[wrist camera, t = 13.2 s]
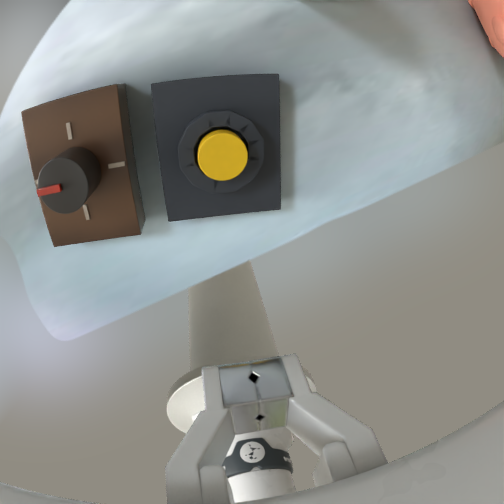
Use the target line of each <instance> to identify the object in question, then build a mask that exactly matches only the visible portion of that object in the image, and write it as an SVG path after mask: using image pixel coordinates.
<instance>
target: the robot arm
mask: <svg viewBox="0 0 504 504" xmlns="http://www.w3.org/2000/svg"><path fill="white" fill-rule="evenodd" d="M218 366H219V367H218ZM218 366H210V367H202V380H203V391H204V402H205V409H204V410H203V411H200V412H198V413H196V414H194V415H193V416H192V420H193V422H194V423H193V424H192V426H191V427H190V429H189V431H188V432H187V434H186V435H185V437H184V439H183V440H182V442H181V444H180V445H179V446H178V448H177V450H176V451H175V453H174V454H173V456H172V457H171V459H170V460H169V462H168V464H167V465H166V467H165V468H166V469H165V470H166V491H167V504H504V401H503V402H501V403H500V404H498V405H497V406H495V407H494V408H493V409H491V410H489V411H488V412H486V413H485V414H483V415H482V416H480V417H478V418H477V419H475V420H474V421H472V422H470V423H468V424H467V425H465V426H464V427H462V428H460V429H458V430H457V431H455V432H453V433H451V434H449V435H447V436H445V437H444V438H442V439H440V440H438V441H436V442H434V443H432V444H430V445H428V446H426V447H424V448H422V449H419V450H417V451H416V452H413V453H411V454H409V455H406V456H404V457H402V458H399V459H398V460H395V461H392V462H390V463H388V462H387V460H386V457H385V455H384V453H383V451H382V449H381V447H380V444H379V442H378V440H377V438H376V436H375V434H374V432H373V429H372V428H370V427H368V426H367V425H365V424H363V423H362V422H361V421H359V420H357V419H356V418H354V417H353V416H351V415H349V414H348V413H347V412H345V411H344V410H342V409H341V408H339V407H338V406H336V405H335V404H333V403H332V402H330V401H329V400H327V399H326V398H324V397H323V396H321V395H320V394H318V393H317V392H313V393H312V392H311V389H310V387H309V384H308V381H307V379H306V376H305V374H304V371H303V368H302V366H301V363H300V361H299V358H298V356H297V355H296V354H290V355H284V356H277V357H272V358H266V359H260V360H255V361H249V362H245V363H237V364H228V365H218ZM293 434H294V435H295V436H296V437H297V438H299V439H300V440H301V441H302V442H303V443H304V444H305V445H307V446H308V447H309V448H310V449H311V450H312V451H313V452H314V453H316V454H317V455H318V456H319V457H320V458H319V460H318V462H317V465H316V467H315V470H314V472H313V474H312V476H313V479H314V482H315V485H316V487H314V488H311V489H307V490H303V491H298V492H296V488H295V485H294V482H293V479H292V475H291V474H292V473H293V468H292V461H291V460H290V456H289V453H288V449H289V448H290V447H291V445H292V443H293V442H294V437H293ZM0 504H101V503H92V502H85V501H78V500H72V499H66V498H61V497H56V496H51V495H47V494H42V493H38V492H34V491H30V490H26V489H22V488H19V487H15V486H12V485H8V484H5V483H2V482H0Z"/></svg>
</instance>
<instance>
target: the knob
mask: <svg viewBox="0 0 504 504" xmlns="http://www.w3.org/2000/svg"><path fill="white" fill-rule="evenodd" d="M100 179H101V168H100V164H99V162H98V160H97V158H96V157H95V155H94V154H93V153H92V152H90V151H89V150H87V149H85V148H82V147H72V148H69V149H67V150H65V151H64V152H62V153H60V154H59V155H57V156H56V157H54V158H53V159H51V160H50V161H48V162H47V163H46V164H45V165H44V166H43V168H42V169H41V171H40V173H39V177H38V189H37V194H38V197H39V196H40V197H41V199H42V201H43V202H44V204H45V205H46V206H47V207H48V208H50V209H51V210H53V211H54V212H57V213H61V214H69V213H73V212H75V211H77V210H79V209H80V208H81V207H82V206H83V205H84V203H85V202H86V201H87V200H88V198H89V197H90V196H91V194H92V193H93V192H94V191H95V189H96V188H97V187H98V185H99V182H100Z"/></svg>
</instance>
